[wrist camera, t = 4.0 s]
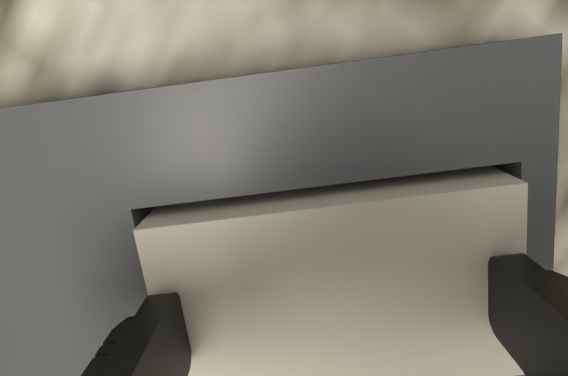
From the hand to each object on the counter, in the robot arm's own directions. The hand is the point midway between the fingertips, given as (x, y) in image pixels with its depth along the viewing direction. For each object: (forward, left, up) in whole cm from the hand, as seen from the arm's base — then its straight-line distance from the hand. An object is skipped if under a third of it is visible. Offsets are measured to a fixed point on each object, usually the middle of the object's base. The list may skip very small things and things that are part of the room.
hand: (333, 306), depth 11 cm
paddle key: (0, 0, -2) cm, 2 cm away
